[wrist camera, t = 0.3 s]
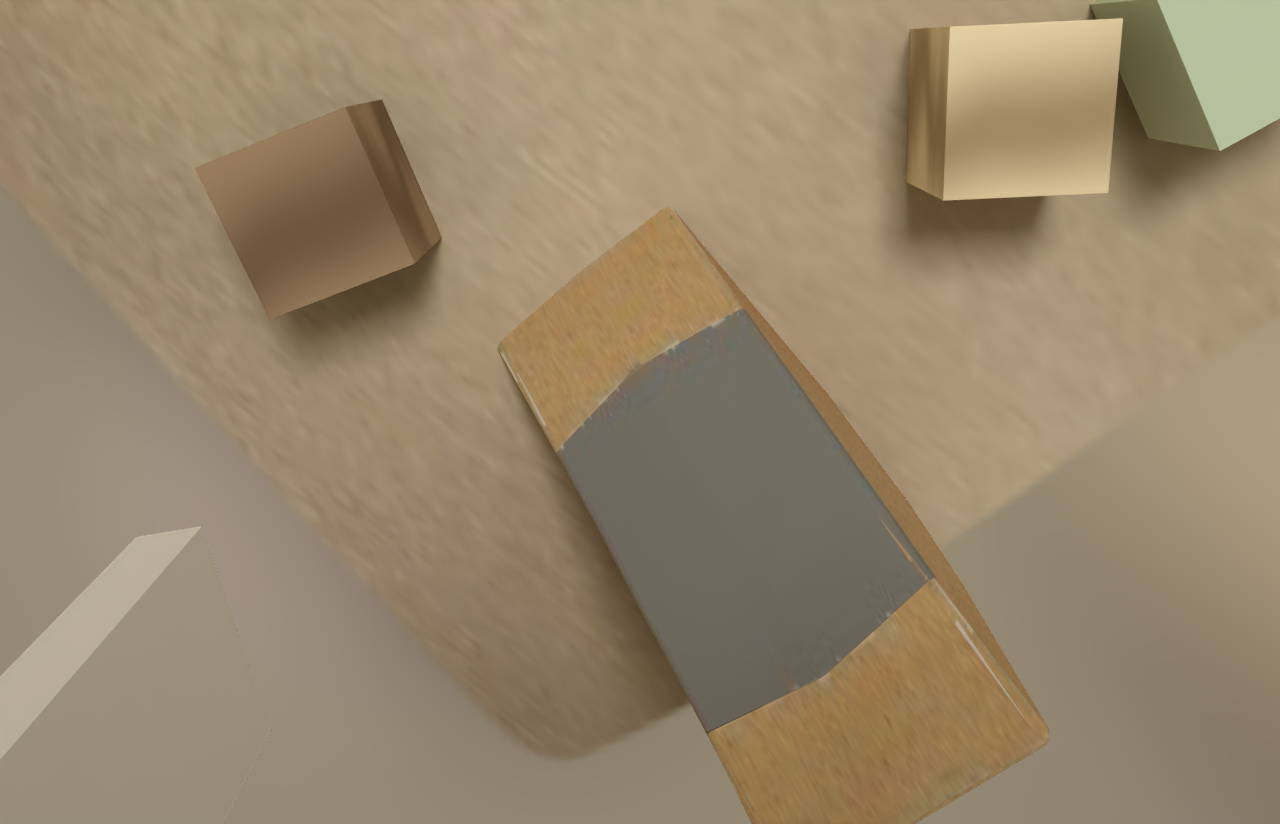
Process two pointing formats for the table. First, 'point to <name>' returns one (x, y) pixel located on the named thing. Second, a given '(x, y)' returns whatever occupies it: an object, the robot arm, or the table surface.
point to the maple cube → (1012, 108)
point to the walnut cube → (321, 207)
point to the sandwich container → (766, 545)
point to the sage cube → (1199, 66)
